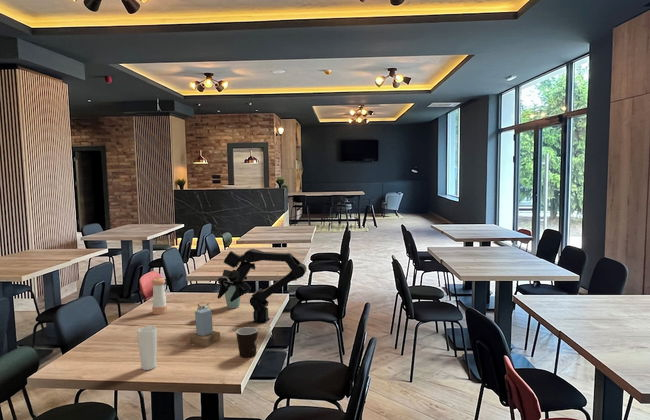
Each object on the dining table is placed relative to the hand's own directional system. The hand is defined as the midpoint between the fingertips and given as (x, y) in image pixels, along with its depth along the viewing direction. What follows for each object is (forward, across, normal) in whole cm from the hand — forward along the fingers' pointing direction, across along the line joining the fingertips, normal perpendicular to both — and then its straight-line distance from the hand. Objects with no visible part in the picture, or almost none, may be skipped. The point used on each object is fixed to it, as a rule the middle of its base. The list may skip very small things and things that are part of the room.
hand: (224, 299), depth 208 cm
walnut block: (+22, +7, -2) cm, 23 cm away
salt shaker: (+13, -48, +6) cm, 50 cm away
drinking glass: (+42, +11, -22) cm, 48 cm away
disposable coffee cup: (-7, -24, +27) cm, 36 cm away
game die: (+9, -18, +11) cm, 23 cm away
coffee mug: (+19, +32, 0) cm, 38 cm away
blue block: (+18, +6, -4) cm, 20 cm away
